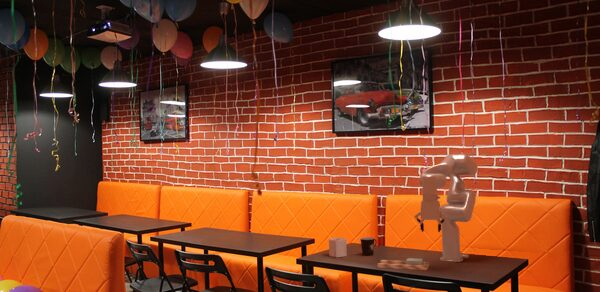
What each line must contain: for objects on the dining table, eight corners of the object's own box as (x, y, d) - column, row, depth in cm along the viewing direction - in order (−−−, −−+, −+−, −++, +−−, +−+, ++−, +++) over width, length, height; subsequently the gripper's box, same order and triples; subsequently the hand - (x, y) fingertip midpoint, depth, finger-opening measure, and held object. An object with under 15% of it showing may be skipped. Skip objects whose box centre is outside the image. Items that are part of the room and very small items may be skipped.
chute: (429, 267, 283) (429, 262, 283) (427, 271, 274) (426, 266, 274) (381, 264, 292) (381, 259, 292) (377, 269, 283) (377, 263, 283)
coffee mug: (364, 256, 316) (363, 240, 316) (358, 254, 324) (358, 237, 324) (382, 255, 319) (381, 238, 319) (376, 252, 327) (375, 236, 327)
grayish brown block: (423, 266, 283) (422, 258, 283) (421, 268, 277) (421, 261, 277) (408, 265, 285) (407, 258, 285) (406, 268, 279) (405, 260, 279)
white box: (341, 253, 329) (341, 237, 329) (351, 256, 318) (350, 239, 318) (326, 255, 324) (325, 238, 324) (335, 258, 313) (335, 241, 314)
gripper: (447, 197, 279) (448, 231, 279) (414, 197, 285) (415, 230, 285) (446, 198, 272) (447, 233, 272) (412, 198, 278) (413, 232, 278)
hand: (430, 231), depth 278 cm, fingers open, 7 cm apart
